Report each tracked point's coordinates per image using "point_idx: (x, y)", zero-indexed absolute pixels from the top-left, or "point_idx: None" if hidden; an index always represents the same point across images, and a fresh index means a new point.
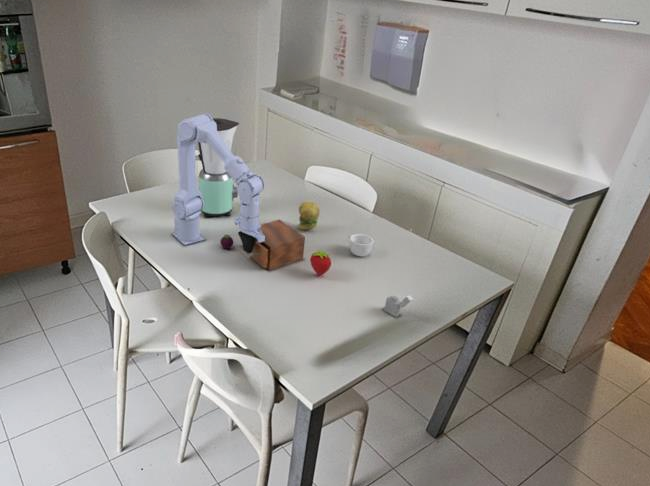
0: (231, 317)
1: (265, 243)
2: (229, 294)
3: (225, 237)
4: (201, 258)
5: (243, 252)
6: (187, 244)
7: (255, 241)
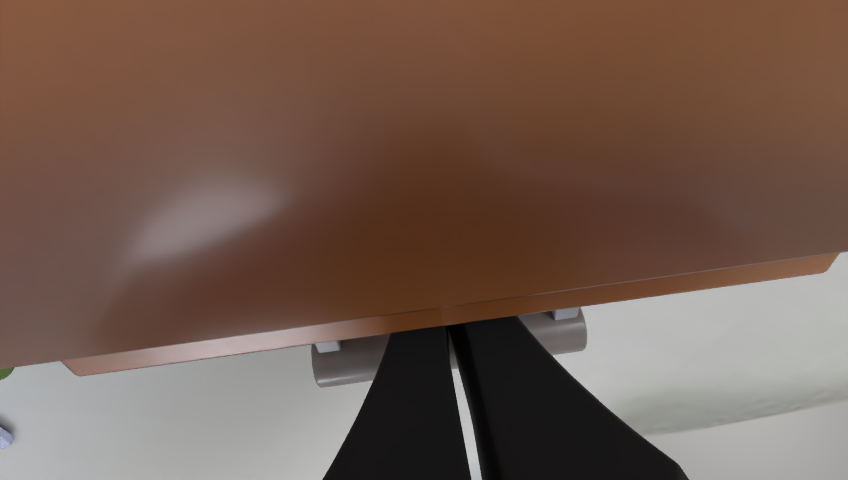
0: (812, 385)
1: (753, 259)
2: (673, 359)
3: (9, 372)
4: (223, 393)
5: None
6: (2, 428)
7: (564, 377)
